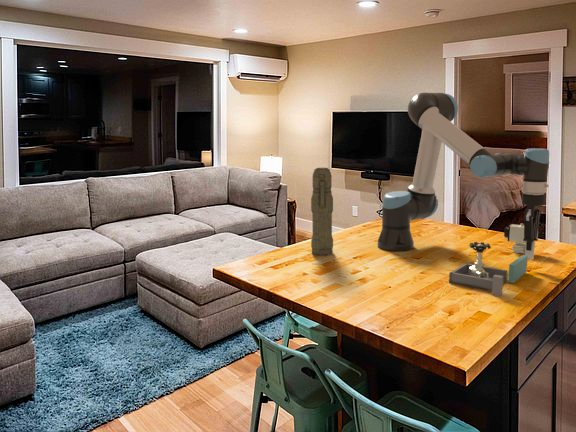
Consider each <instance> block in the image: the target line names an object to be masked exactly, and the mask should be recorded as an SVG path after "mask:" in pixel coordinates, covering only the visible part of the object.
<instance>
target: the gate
mask: <svg viewBox="0 0 576 432" xmlns="http://www.w3.org/2000/svg"><path fill="white" fill-rule="evenodd" d="M527 258H528V256H527V255H525V254H522V255H520V256H519V257H518V258H516V259H515V260H514V261H512V262H510V264H508V266H509V267H508V276H507V283H510V284H514V283H515V282H516V281H518V280H519V279H520V278H522V277H523V276H524V275H525V274H526V273H527V270H528V269H527V268H528V259H527Z"/></svg>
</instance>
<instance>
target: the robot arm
mask: <svg viewBox="0 0 576 432" xmlns="http://www.w3.org/2000/svg"><path fill="white" fill-rule="evenodd" d="M458 106H459V105H458V103H457V100H456V99H455V98H454V96H453V95H451V94H449V93H445V92H420V93H417V94H415V95H414V96H413V97H412V98H411V99H410V101H409V103H408V104H407V113H408V116H409V118H410V120H411V121H412V122H413V123H414V124H415V125H416V126H418V127H419V128H420V129H422V132H421V137H420V141H419V147H418V151H417V152H418V153H417V156H416V162H415V163H416V164H415V167H414V174H413V177H412V183H411V184H410V185H408V186H407V191H406V190H397V191H390V192H386V193H385V194H384V195H383V197H382V203H381V207H382V209H381V211H382V212H381V216H382V217H381V221H382V222H381V231H380V233H379V236H378V239H377V247H378V248H379V249H382V250H386V251H392V252H405V251H410V250H413V249H414V247H415V244H414V242H415V241H414V238H413V235H412V232H411V221H416V220H424V219H427V218H430V217H432V216H433V215H434V214H435V213H436V212H437V210H438V207H439V199H437V198H438V197H437V195H436V190H435V188H434V181H435V176H436V173H437V168H438V162H439V157H440V151H441V147H442V144H443V145H445V147H447V148H448V149H449V150H451V151H452V152H453V153H455V154H456V155H457V156H458V157H460V158H461V159H462V160H463V161H464V162H465V163H467V164H468V165H469V168H470V171H471V173H472V175H473V176H475V177H477V178H490V177H498V176H505V175H513V176H514V175H515V176H523V177H522V179H523V180H522V189H521V191H522V194H521V204H522V205H525V206H527V207H526V209H525V210H524V212H525V213H524V215H523V225H524V239H523V241H526V243H524V244H525V252H524V255H527V256H528V258H527V260H534V257H535V246H536V245H535V244H536V242H537V241H539V239H538V238H537V233H538V234H539V225H540V218H541V214H542V211H541V210H540V207H541V206H545V205H546V202H547V201H546V200H547V195H546V193H547V189H548V188H549V184H548V175H549V165H550V150H549V149H547V148H526V149H525V150H524V151H525V152H524V153H509V152H498V153H497V152H496V153H495V154H493V153H491V152H490V151H489V150H487V149H486V148H484V147H483V146H482V145H481V144H479V142H477V141H476V140H474V139H473V138H472V137H471V136H469V135H468V134H467V133H466V132H465V131H463V130H462V129H461V128H459V127H458V126H456V124H454V123H453V122H452V121H454V119H456V117H457V115H458V112H459V107H458ZM536 238H537V239H536Z"/></svg>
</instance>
